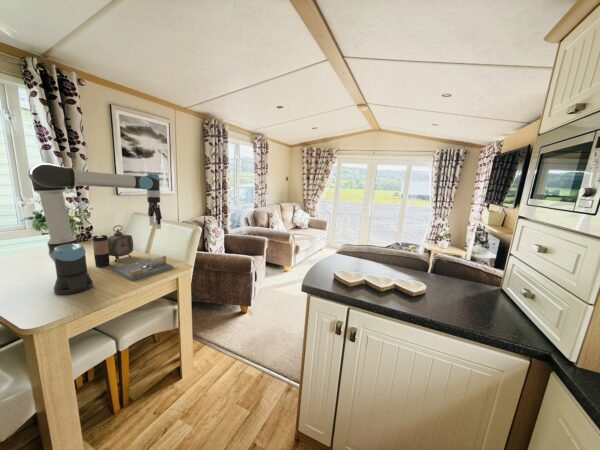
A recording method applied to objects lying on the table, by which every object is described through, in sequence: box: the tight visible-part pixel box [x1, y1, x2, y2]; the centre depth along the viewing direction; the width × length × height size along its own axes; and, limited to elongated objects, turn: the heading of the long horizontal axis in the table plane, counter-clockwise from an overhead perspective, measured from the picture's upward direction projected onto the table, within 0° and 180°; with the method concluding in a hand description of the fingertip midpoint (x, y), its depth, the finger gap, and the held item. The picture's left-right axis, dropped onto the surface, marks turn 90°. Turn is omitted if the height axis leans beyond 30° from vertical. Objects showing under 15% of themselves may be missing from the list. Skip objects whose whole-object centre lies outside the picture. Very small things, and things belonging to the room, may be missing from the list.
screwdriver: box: [129, 267, 153, 276], centre depth 146 cm, size 12×3×3 cm, turn 149°
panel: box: [112, 257, 174, 282], centre depth 156 cm, size 25×24×2 cm
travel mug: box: [92, 234, 111, 268], centre depth 157 cm, size 8×8×20 cm
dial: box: [142, 255, 167, 269], centre depth 157 cm, size 15×6×5 cm, turn 149°
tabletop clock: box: [107, 224, 134, 263], centre depth 169 cm, size 14×9×25 cm, turn 168°
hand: (155, 227), depth 166 cm, fingers open, 13 cm apart
